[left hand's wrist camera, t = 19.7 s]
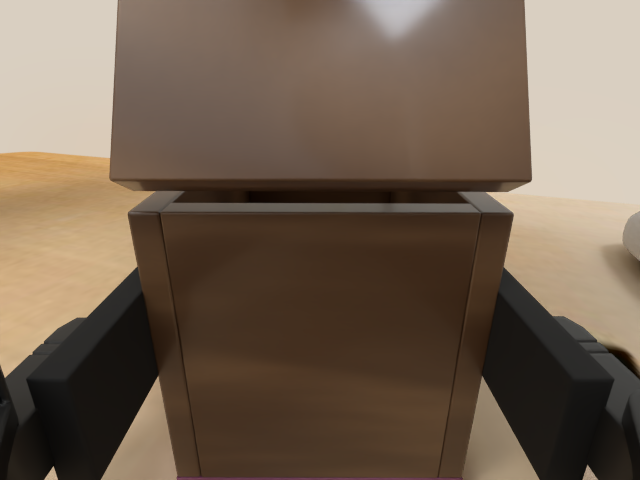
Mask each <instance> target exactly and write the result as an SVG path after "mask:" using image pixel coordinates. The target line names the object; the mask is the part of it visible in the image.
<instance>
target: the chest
mask: <svg viewBox="0 0 640 480" xmlns="http://www.w3.org/2000/svg"><path fill="white" fill-rule="evenodd" d="M513 216H514V214H513V213H512V212H511V211H510V210H508V209H507V208H506V207H504V206H503V205H502V204H500V203H499V202H498V201H496V200H495V199H494V198H492V197H491V196H490V195H488V194H487V193H486V192H337V191H156V192H155V193H153V194H152V195H151V196H149V197H148V198H147V199H145V200H144V201H142V202H141V203H140V204H138V205H137V206H136V207H134V208H133V209H132V210H130V211H129V212H128V219H129V224H130V229H131V234H132V239H133V245H134V250H135V255H136V260H137V266H138V271H139V276H140V281H141V287H142V292H143V297H144V302H145V308H146V313H147V318H148V323H149V328H150V333H151V339H152V344H153V349H154V354H155V359H156V364H157V370H158V376H159V381H160V386H161V391H162V397H163V402H164V407H165V412H166V418H167V423H168V428H169V433H170V438H171V444H172V449H173V454H174V459H175V465H176V470H177V475H178V476H177V480H462V479H463V478H462V473H463V468H464V463H465V458H466V453H467V448H468V443H469V438H470V433H471V428H472V423H473V418H474V413H475V408H476V403H477V398H478V393H479V388H480V383H481V378H482V372H483V367H484V362H485V357H486V352H487V347H488V342H489V337H490V331H491V326H492V321H493V316H494V311H495V306H496V301H497V296H498V291H499V287H500V282H501V277H502V272H503V267H504V262H505V257H506V252H507V247H508V242H509V237H510V232H511V226H512V221H513Z"/></svg>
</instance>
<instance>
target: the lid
mask: <svg viewBox="0 0 640 480" xmlns="http://www.w3.org/2000/svg"><path fill="white" fill-rule="evenodd" d="M110 180H111V181H113V182H115V183H117V184H119V185H122V186H124V187H126V188H128V189H130V190H133V191H337V192H509V191H511V190H513V189H515V188H518V187H520V186H522V185H524V184H527V183H529V182H531V180H532V169H531V146H530V122H529V99H528V75H527V52H526V29H525V6H524V0H118V10H117V31H116V52H115V73H114V94H113V115H112V136H111V157H110Z"/></svg>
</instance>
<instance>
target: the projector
mask: <svg viewBox="0 0 640 480" xmlns="http://www.w3.org/2000/svg"><path fill="white" fill-rule="evenodd" d="M623 244H624V246H625V247H626V248H627V250H628V251H629V252H630V253H631V254H632V255H633V256H634V257H635V258H637V259H638V260H639V261H640V212H637V213H636V214H634V215H632V216H631V217H630V218H629V219H628V221H627V223H626V225H625V229H624V232H623Z"/></svg>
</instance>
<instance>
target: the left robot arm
mask: <svg viewBox="0 0 640 480" xmlns="http://www.w3.org/2000/svg"><path fill="white" fill-rule="evenodd" d="M482 376H483V378H484V380H485V381H486V383H487V385H488V387H489V389H490V390H491V392H492V394H493V396H494V398H495V400H496V401H497V403H498V405H499V407H500V409H501V410H502V412H503V414H504V416H505V418H506V419H507V421H508V423H509V425H510V427H511V428H512V430H513V432H514V434H515V436H516V438H517V439H518V441H519V443H520V445H521V447H522V448H523V450H524V452H525V454H526V456H527V457H528V459H529V461H530V463H531V465H532V466H533V468H534V470H535V472H536V474H537V476H538V477H539V479H540V480H582V479H583V476H584V473H585V470H586V467H587V464H588V466H589V467H590V469H591V470H592V472H593V473H594V474H595V476H596V477H597V479H598V480H640V380H639V379H638V378H637V377H636V376H635V375H634V374H633V373H632V372H631V371H630V370H628V369H627V368H626V367H625V366H624V365H623V364H622V363H621V362H620V361H619V360H618V359H617V358H616V357H614V356H613V355H612V354H609V353H608V350H607V349H606V348H605V347H604V346H603V345H602V344H601V343H597V340H596V339H595V338H594V337H593V336H592V335H591V334H590V333H589V332H588V331H587V330H585V329H584V328H583V327H582V326H580V325H578V324H576V323H575V322H573V321H571V320H569V319H567V318H566V317H564V316H552V315H551V314H550V313H549V312H548V311H547V310H546V309H545V308H544V307H543V306H542V305H541V304H540V303H539V302H538V301H537V300H536V299H535V298H534V297H533V296H532V295H531V294H530V293H529V292H528V291H527V290H526V289H525V288H524V287H523V286H522V285H521V284H520V283H519V282H518V281H517V280H516V279H515V278H514V277H513V276H512V275H511V274H510V273H509V272H508V271H507V270H506V269H505V268H504V267H503V272H502V277H501V282H500V287H499V291H498V296H497V301H496V306H495V311H494V316H493V321H492V326H491V331H490V337H489V342H488V347H487V352H486V357H485V362H484V367H483V372H482ZM157 377H158V370H157V364H156V359H155V354H154V349H153V344H152V339H151V333H150V328H149V323H148V318H147V313H146V308H145V302H144V297H143V292H142V287H141V281H140V276H139V271H138V267H137V268H136V269H135V270H134V271H133V272H132V273H131V274H130V275H129V276H128V277H127V278H126V279H125V280H124V281H123V282H122V283H121V284H120V285H119V286H118V287H117V288H116V289H115V290H114V291H113V292H112V293H111V294H110V295H109V296H108V297H107V298H106V299H105V300H104V301H103V302H102V303H101V304H100V305H99V306H98V307H97V308H96V309H95V310H94V311H93V312H92V313H91V314H90V315H89V316H88V317H87V318H76V319H74V320H72V321H70V322H69V323H67V324H65V325H63V326H62V327H60V328H58V329H57V330H56V331H55V332H54V333H53V334H52V335H50V336H49V337H48V338H47V339H46V340H45V341H44V344H41V345H40V346H39V347H38V348H37V349H36V350H34V351H33V354H32V355H29V356H28V357H27V358H26V359H25V360H24V361H23V362H22V363H21V364H20V365H18V366H17V367H16V368H15V369H14V370H13V371H12V372H11V373H10V374H9V375H8V376H7V377H6V378H4V375H3V372H2V369H1V366H0V480H44V479H45V477H46V476H47V474H48V473H49V472H50V470H51V469H52V467H53V466H54V468H55V471H56V475H57V478H58V480H101V478H102V476H103V475H104V473H105V471H106V469H107V467H108V465H109V464H110V462H111V460H112V458H113V456H114V455H115V453H116V451H117V449H118V447H119V446H120V444H121V442H122V440H123V438H124V437H125V435H126V433H127V431H128V429H129V427H130V426H131V424H132V422H133V420H134V418H135V417H136V415H137V413H138V411H139V409H140V408H141V406H142V404H143V402H144V400H145V399H146V397H147V395H148V393H149V391H150V389H151V388H152V386H153V384H154V382H155V380H156V379H157Z"/></svg>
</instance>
